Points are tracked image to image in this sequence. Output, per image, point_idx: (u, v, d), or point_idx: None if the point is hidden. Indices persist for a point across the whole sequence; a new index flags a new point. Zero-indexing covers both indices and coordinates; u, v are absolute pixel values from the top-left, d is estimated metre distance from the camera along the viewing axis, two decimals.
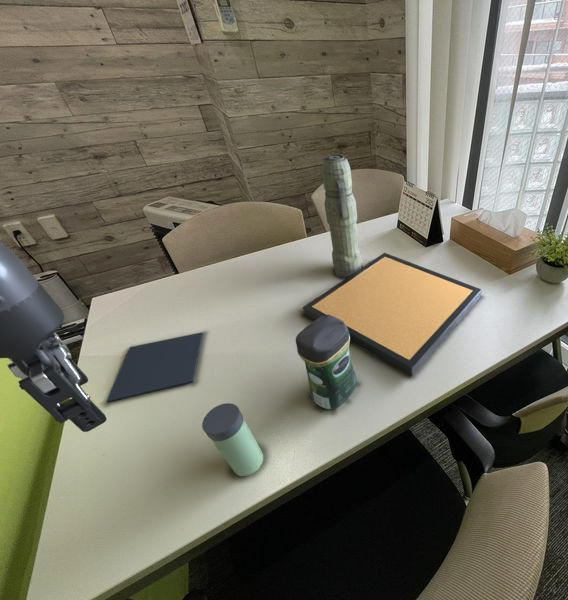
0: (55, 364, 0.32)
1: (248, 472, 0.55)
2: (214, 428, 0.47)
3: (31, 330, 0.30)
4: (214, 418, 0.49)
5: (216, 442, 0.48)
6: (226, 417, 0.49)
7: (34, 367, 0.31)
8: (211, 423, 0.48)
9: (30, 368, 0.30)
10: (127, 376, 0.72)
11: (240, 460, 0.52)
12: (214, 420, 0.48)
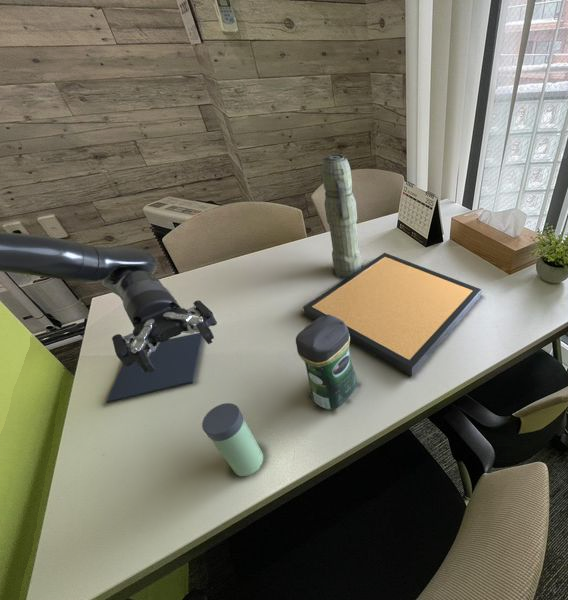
0: None
1: (248, 472, 0.55)
2: (214, 428, 0.47)
3: None
4: (214, 418, 0.49)
5: (216, 442, 0.48)
6: (226, 417, 0.49)
7: None
8: (211, 423, 0.48)
9: (188, 309, 0.59)
10: (127, 376, 0.72)
11: (240, 460, 0.52)
12: (214, 420, 0.48)
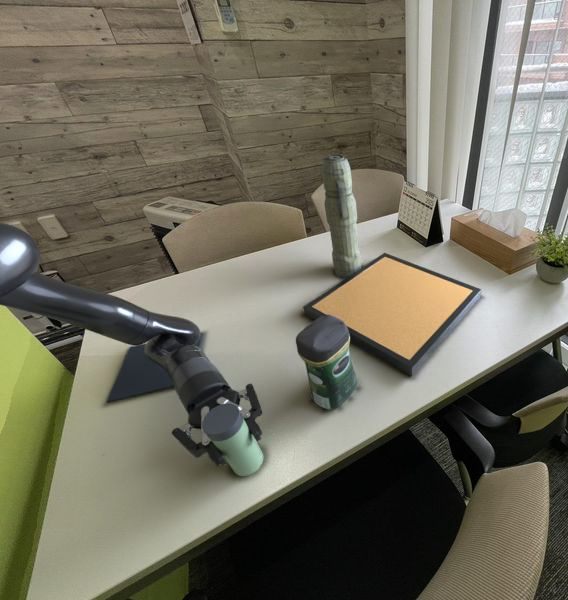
0: (239, 401, 0.59)
1: (248, 472, 0.55)
2: (214, 428, 0.47)
3: None
4: (213, 418, 0.49)
5: (216, 442, 0.48)
6: (226, 417, 0.49)
7: None
8: (211, 423, 0.48)
9: (240, 391, 0.59)
10: (127, 376, 0.72)
11: (240, 460, 0.52)
12: (214, 420, 0.48)
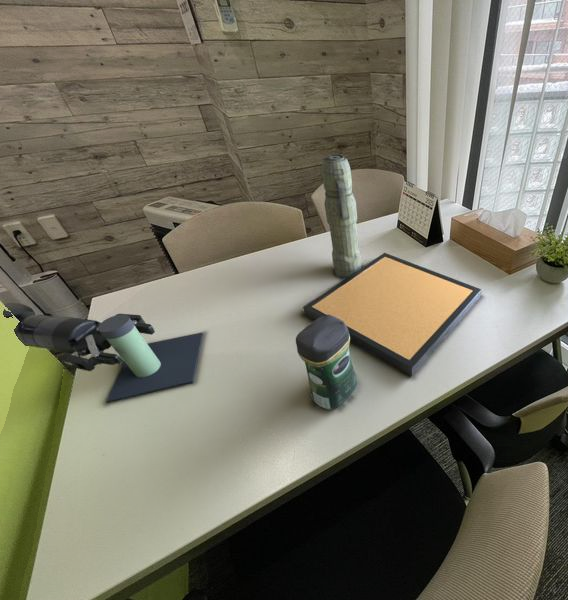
0: None
1: (152, 369, 0.72)
2: (112, 328, 0.63)
3: None
4: (107, 325, 0.64)
5: (117, 340, 0.64)
6: (118, 321, 0.65)
7: None
8: (107, 327, 0.64)
9: None
10: (127, 376, 0.72)
11: (142, 356, 0.69)
12: (108, 325, 0.64)
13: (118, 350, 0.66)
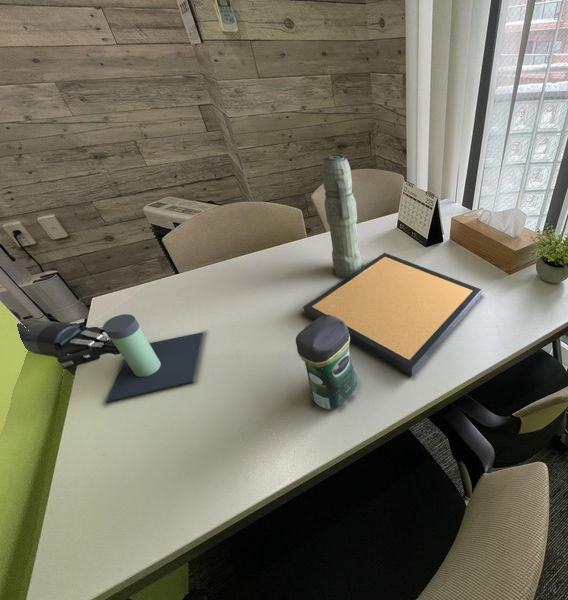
0: (101, 334, 0.74)
1: (152, 369, 0.72)
2: (118, 328, 0.63)
3: None
4: (112, 324, 0.64)
5: (122, 340, 0.64)
6: (124, 321, 0.65)
7: None
8: (112, 327, 0.63)
9: (101, 327, 0.74)
10: (127, 376, 0.72)
11: (144, 356, 0.69)
12: (114, 325, 0.64)
13: (121, 350, 0.66)
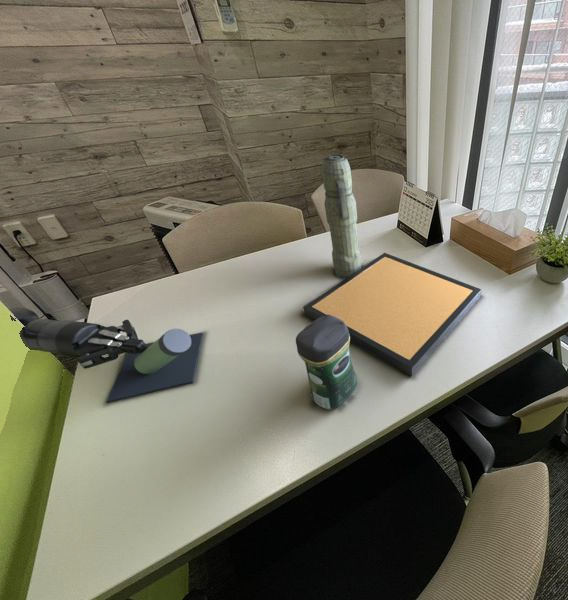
0: (119, 333, 0.73)
1: (156, 370, 0.72)
2: (177, 348, 0.65)
3: None
4: (172, 341, 0.65)
5: (170, 356, 0.66)
6: (181, 339, 0.66)
7: None
8: (172, 344, 0.64)
9: (118, 326, 0.73)
10: (127, 376, 0.72)
11: (165, 364, 0.70)
12: (173, 342, 0.65)
13: (157, 358, 0.66)
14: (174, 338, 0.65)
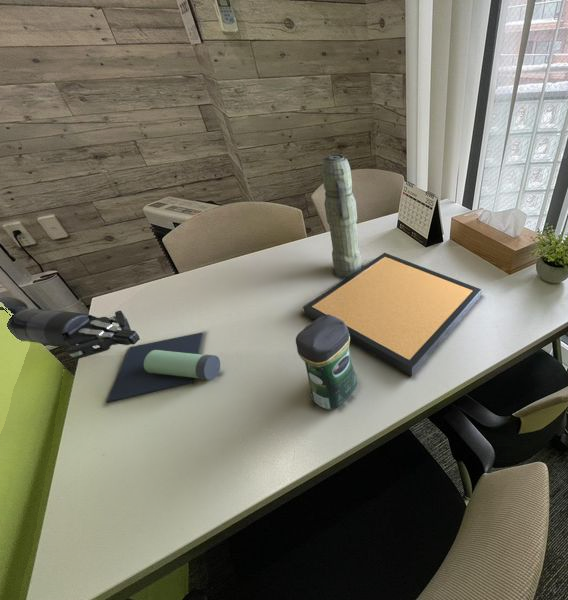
0: None
1: None
2: (210, 375, 0.70)
3: None
4: (209, 367, 0.69)
5: (196, 377, 0.69)
6: (214, 367, 0.71)
7: None
8: (208, 371, 0.69)
9: (110, 317, 0.71)
10: (127, 376, 0.72)
11: None
12: (209, 369, 0.69)
13: (181, 373, 0.69)
14: (211, 365, 0.70)
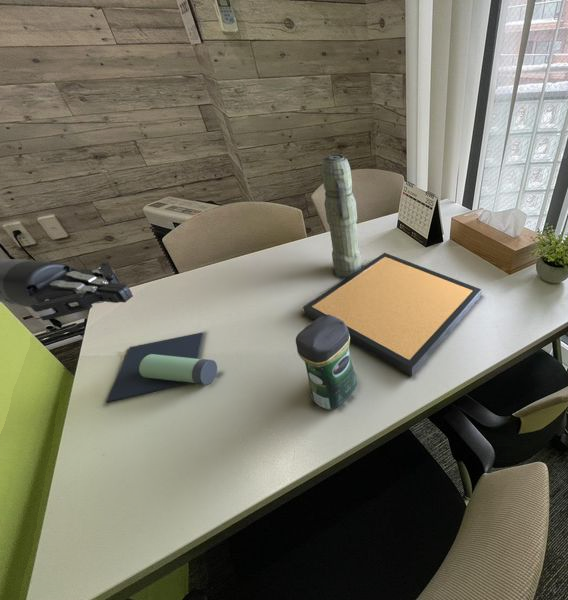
0: None
1: None
2: (209, 379, 0.69)
3: None
4: (205, 374, 0.68)
5: None
6: (211, 370, 0.70)
7: None
8: (206, 378, 0.68)
9: (94, 270, 0.54)
10: (127, 376, 0.72)
11: None
12: (206, 375, 0.69)
13: None
14: (207, 371, 0.69)
